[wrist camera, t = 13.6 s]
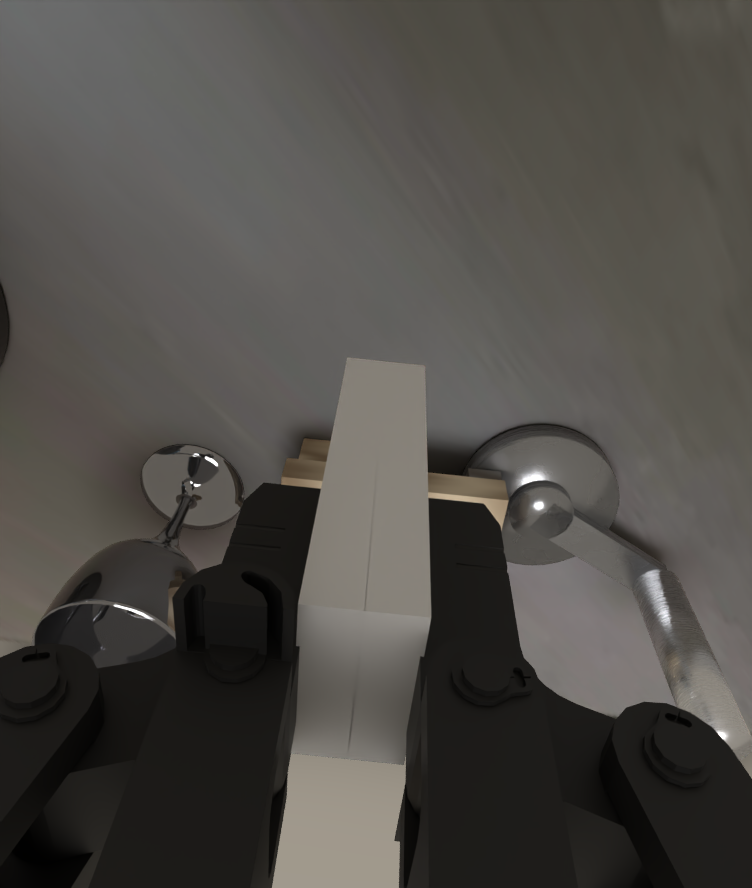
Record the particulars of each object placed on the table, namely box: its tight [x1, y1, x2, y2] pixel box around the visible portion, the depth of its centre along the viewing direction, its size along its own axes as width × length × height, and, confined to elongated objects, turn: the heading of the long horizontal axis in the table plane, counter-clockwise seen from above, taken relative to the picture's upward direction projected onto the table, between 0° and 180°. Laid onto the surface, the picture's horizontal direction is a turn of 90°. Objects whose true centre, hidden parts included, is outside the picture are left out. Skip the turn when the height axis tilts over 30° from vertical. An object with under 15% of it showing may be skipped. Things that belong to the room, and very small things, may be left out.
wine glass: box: [32, 444, 244, 668], centre depth 42 cm, size 8×8×15 cm
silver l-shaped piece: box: [462, 425, 752, 760], centre depth 41 cm, size 16×10×15 cm, turn 56°
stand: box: [281, 438, 509, 531], centre depth 45 cm, size 13×14×7 cm
